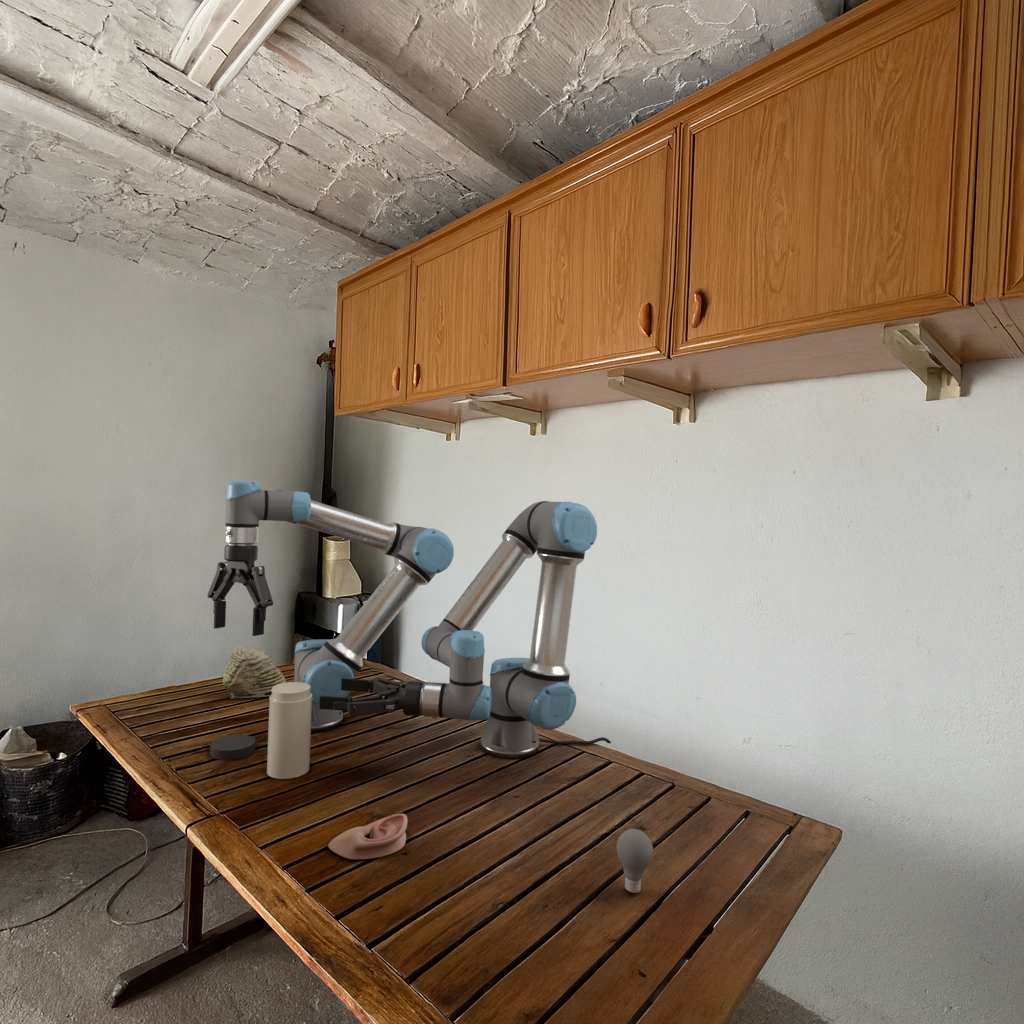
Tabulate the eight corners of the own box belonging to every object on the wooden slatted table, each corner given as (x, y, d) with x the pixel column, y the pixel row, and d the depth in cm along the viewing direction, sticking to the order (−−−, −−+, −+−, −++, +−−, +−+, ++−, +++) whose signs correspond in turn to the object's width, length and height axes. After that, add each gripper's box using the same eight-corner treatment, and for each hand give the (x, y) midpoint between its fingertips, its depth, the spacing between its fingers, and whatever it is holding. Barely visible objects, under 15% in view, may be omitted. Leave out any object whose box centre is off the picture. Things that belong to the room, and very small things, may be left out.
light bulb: (610, 879, 108) (613, 822, 108) (644, 879, 109) (647, 822, 109) (619, 902, 102) (622, 840, 102) (655, 901, 103) (658, 840, 103)
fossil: (218, 695, 195) (220, 647, 195) (278, 685, 208) (279, 640, 207) (228, 703, 189) (230, 653, 188) (289, 692, 201) (290, 645, 201)
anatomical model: (320, 832, 112) (349, 802, 123) (319, 854, 112) (349, 822, 123) (391, 843, 109) (414, 812, 121) (390, 866, 109) (413, 832, 121)
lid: (228, 763, 148) (228, 754, 148) (201, 753, 153) (201, 744, 153) (264, 749, 157) (264, 740, 157) (237, 740, 162) (237, 731, 162)
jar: (262, 766, 147) (265, 684, 147) (303, 759, 152) (306, 679, 152) (271, 782, 139) (274, 695, 139) (314, 774, 144) (317, 690, 144)
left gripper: (193, 541, 156) (190, 626, 157) (265, 548, 145) (262, 641, 145) (220, 540, 163) (217, 622, 163) (290, 547, 152) (287, 635, 152)
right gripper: (409, 735, 131) (309, 728, 132) (433, 698, 156) (349, 692, 157) (410, 699, 131) (310, 692, 132) (434, 668, 156) (350, 662, 157)
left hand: (238, 631), depth 154 cm, fingers open, 13 cm apart
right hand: (331, 692), depth 145 cm, fingers open, 13 cm apart
